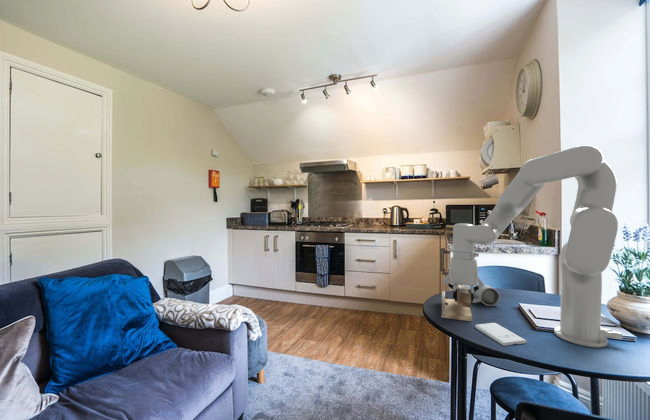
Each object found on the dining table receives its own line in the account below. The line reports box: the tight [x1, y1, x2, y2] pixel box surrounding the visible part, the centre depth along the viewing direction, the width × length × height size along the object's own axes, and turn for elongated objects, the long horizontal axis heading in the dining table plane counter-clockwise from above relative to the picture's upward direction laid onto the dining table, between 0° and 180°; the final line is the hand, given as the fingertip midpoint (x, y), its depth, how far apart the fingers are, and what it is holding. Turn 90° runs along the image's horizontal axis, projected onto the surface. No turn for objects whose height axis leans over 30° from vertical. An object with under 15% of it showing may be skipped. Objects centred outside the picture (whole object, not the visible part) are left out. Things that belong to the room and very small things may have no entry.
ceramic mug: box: [472, 284, 501, 307], centre depth 121 cm, size 11×8×8 cm
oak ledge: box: [441, 290, 473, 322], centre depth 111 cm, size 10×16×5 cm, turn 157°
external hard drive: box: [474, 322, 527, 346], centre depth 92 cm, size 2×8×12 cm
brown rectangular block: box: [456, 284, 472, 309], centre depth 109 cm, size 4×11×5 cm, turn 158°
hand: (462, 300), depth 109 cm, fingers closed on brown rectangular block, 4 cm apart
